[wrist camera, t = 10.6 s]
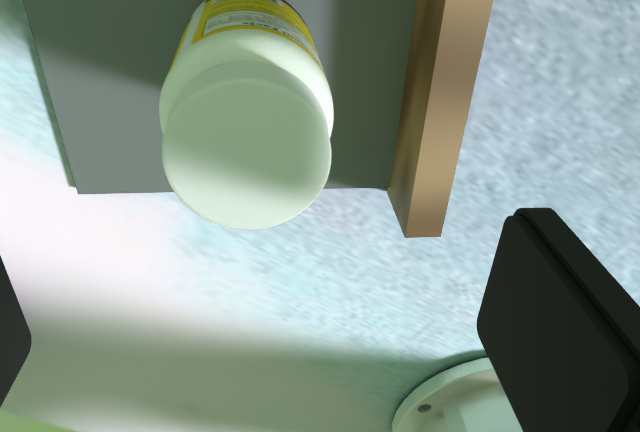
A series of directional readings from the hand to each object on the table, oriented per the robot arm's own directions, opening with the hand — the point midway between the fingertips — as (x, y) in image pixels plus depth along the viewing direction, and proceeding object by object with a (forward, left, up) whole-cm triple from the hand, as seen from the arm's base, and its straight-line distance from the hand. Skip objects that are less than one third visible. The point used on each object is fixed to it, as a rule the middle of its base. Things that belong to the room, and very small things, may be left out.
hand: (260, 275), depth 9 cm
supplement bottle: (+1, 0, -12) cm, 12 cm away
